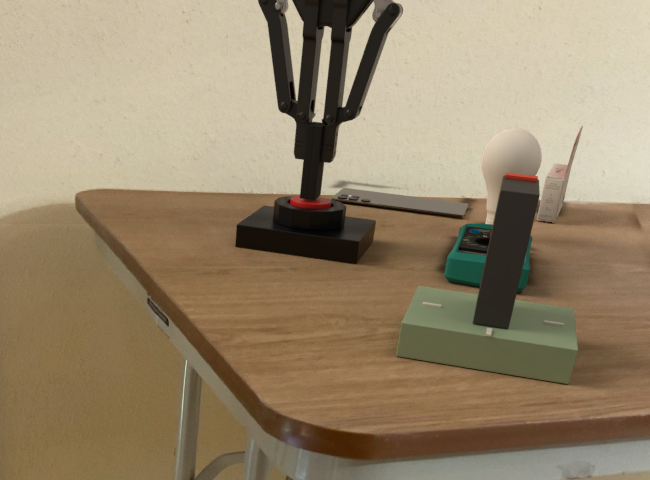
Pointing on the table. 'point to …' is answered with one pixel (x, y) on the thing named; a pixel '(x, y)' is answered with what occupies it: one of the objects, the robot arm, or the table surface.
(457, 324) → the panel
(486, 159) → the lightbulb
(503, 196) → the switch lever
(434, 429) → the table surface
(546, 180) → the ink cartridge box
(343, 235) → the button box
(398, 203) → the smartphone
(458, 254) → the digital multimeter
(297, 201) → the button
